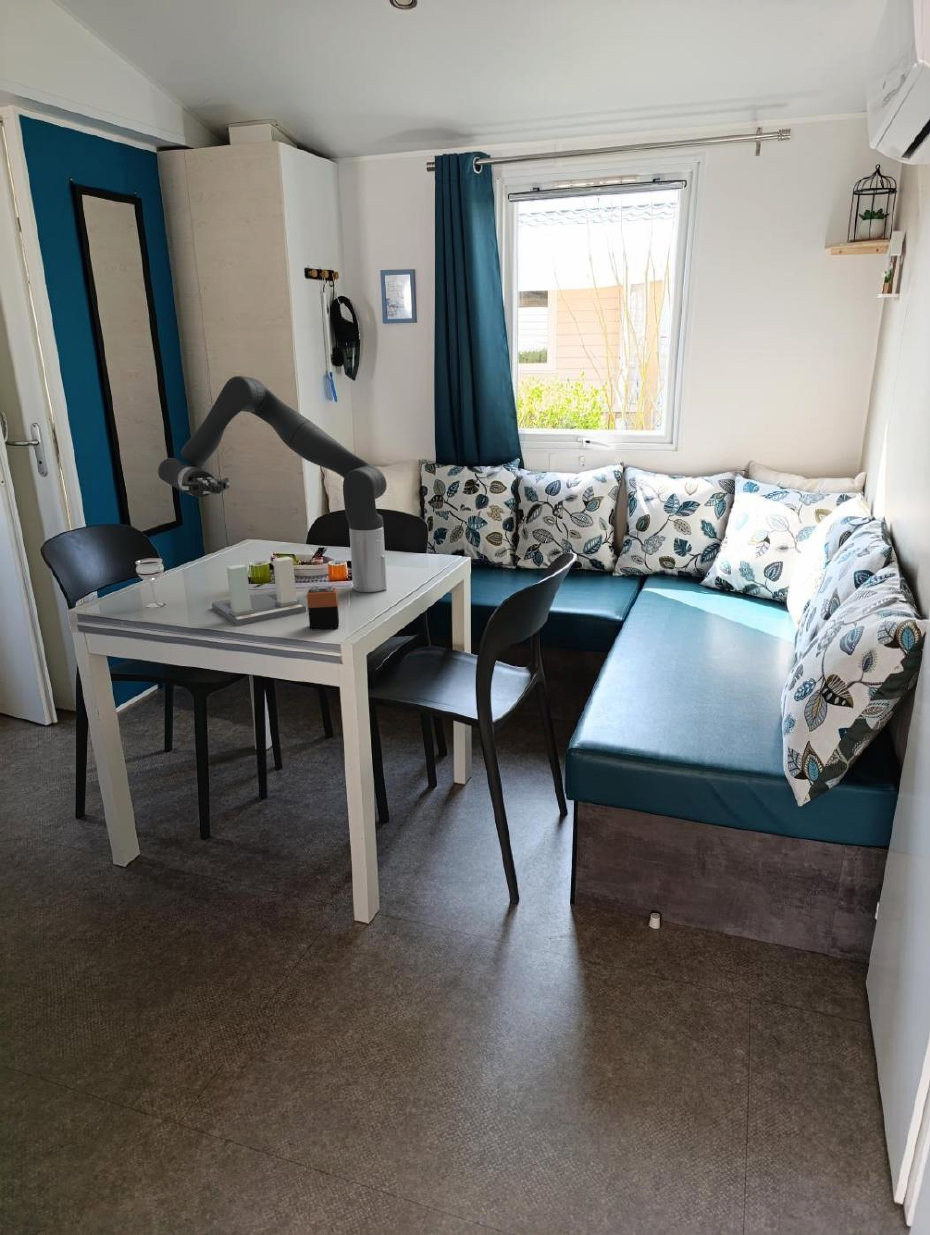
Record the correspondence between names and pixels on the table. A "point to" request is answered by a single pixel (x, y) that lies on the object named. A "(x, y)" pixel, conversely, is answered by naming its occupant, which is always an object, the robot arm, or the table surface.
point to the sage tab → (239, 590)
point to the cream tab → (285, 582)
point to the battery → (323, 608)
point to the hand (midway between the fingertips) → (217, 489)
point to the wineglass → (150, 573)
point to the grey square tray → (258, 609)
